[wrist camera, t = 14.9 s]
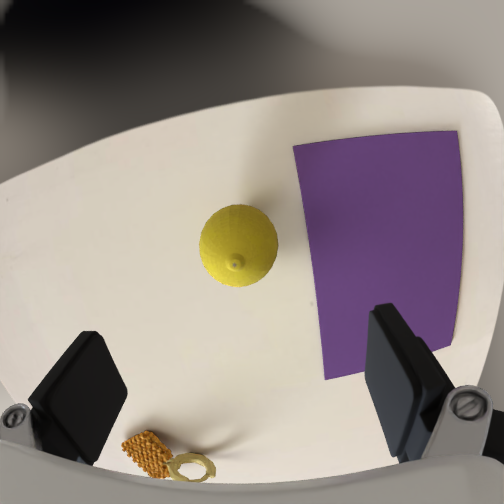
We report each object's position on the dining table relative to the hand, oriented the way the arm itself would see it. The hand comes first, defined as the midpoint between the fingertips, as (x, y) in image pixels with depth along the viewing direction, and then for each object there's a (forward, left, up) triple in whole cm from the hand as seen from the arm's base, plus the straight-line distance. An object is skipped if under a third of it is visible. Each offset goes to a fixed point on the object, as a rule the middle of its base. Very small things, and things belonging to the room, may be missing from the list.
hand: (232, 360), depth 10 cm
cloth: (-5, +13, -17) cm, 22 cm away
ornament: (+34, +10, -17) cm, 39 cm away
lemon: (0, 0, -17) cm, 17 cm away
